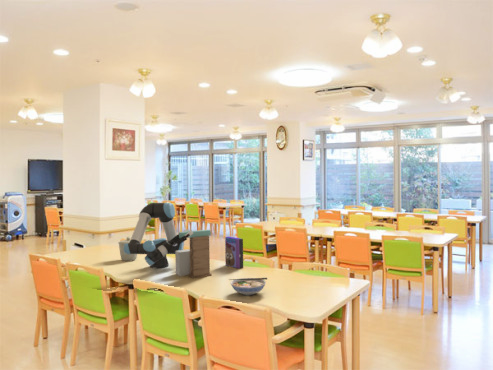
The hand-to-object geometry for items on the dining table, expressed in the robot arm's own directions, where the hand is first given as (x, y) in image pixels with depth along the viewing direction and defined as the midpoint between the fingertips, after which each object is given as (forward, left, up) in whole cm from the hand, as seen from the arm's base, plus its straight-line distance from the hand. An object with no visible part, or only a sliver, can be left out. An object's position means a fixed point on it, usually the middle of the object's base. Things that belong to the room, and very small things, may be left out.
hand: (190, 231), depth 302 cm
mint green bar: (0, +4, -4) cm, 6 cm away
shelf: (-12, +4, -34) cm, 36 cm away
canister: (-90, -23, -35) cm, 99 cm away
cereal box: (-13, +44, -35) cm, 57 cm away
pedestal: (0, +7, -34) cm, 35 cm away
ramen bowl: (+60, +14, -35) cm, 71 cm away
